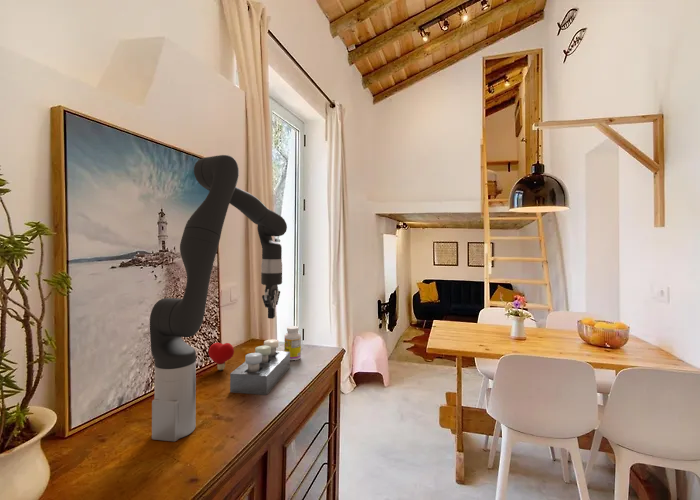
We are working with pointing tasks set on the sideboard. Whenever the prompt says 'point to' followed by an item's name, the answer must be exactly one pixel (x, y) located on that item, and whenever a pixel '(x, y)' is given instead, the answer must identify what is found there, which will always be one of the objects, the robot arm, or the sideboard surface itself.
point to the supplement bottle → (293, 342)
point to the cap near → (253, 361)
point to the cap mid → (263, 353)
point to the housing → (260, 375)
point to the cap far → (272, 344)
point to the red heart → (221, 353)
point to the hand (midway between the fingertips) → (271, 318)
